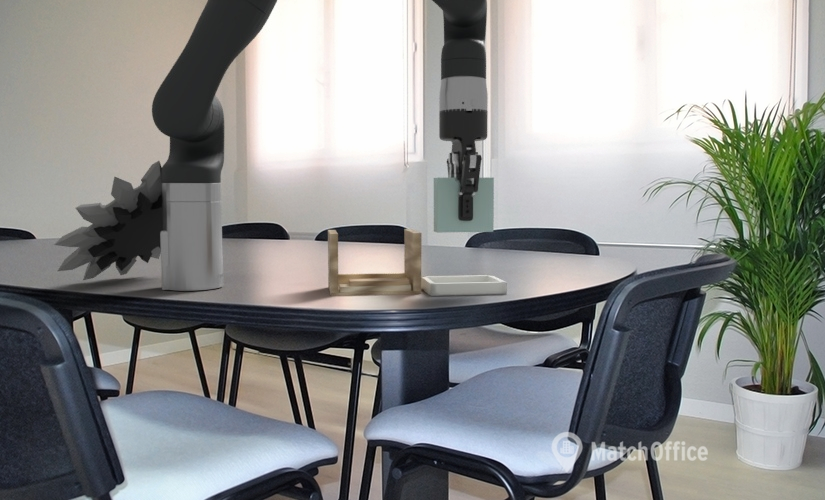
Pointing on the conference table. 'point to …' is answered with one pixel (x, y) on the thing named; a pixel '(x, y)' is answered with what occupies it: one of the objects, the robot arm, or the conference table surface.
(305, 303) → the conference table surface
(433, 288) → the tray
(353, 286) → the offcut stack
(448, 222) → the sheet
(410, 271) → the rack
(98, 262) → the decorative piece
